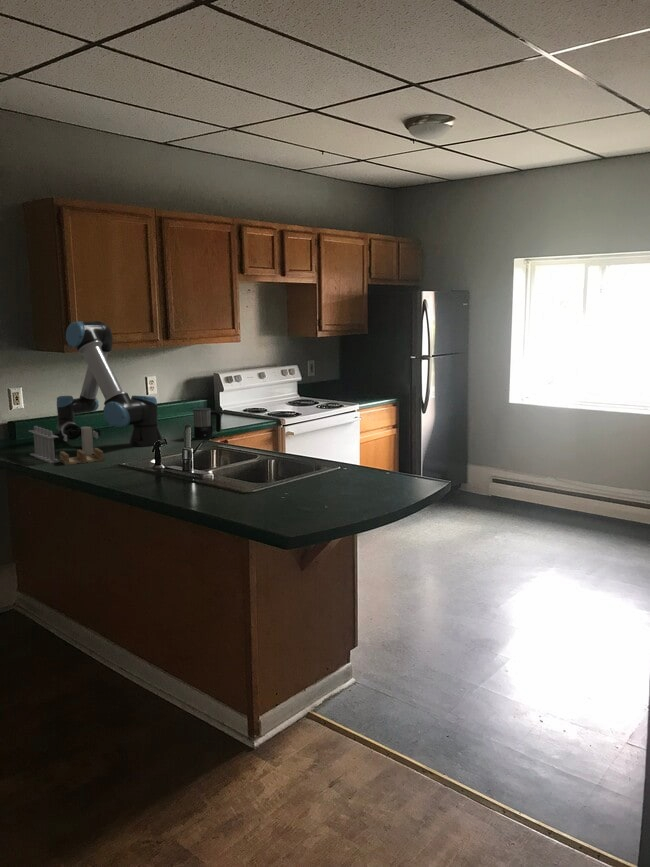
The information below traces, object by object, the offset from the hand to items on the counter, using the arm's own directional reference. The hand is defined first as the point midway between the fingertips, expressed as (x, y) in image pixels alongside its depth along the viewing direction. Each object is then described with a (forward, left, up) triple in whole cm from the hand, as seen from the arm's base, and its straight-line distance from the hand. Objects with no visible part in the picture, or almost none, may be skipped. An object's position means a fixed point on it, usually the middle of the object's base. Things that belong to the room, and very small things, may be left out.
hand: (81, 436), depth 325 cm
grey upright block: (0, +9, -7) cm, 11 cm away
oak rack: (+6, +23, -6) cm, 24 cm away
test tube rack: (+18, +8, -7) cm, 21 cm away
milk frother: (-61, -6, -7) cm, 62 cm away
